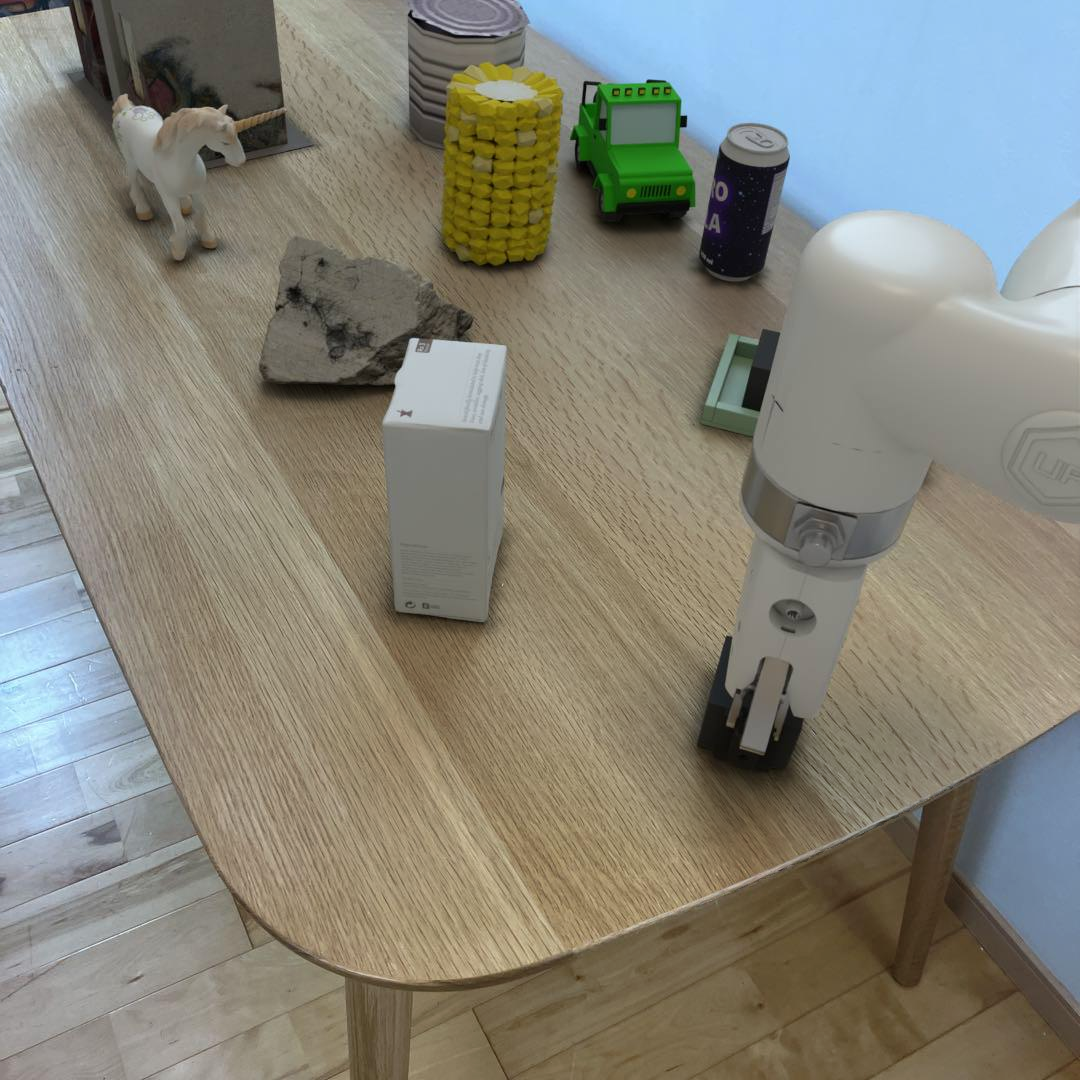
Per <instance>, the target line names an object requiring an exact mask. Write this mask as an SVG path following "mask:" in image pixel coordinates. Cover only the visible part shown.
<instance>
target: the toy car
mask: <svg viewBox="0 0 1080 1080" xmlns="http://www.w3.org/2000/svg"><path fill="white" fill-rule="evenodd" d="M582 83H583V84H582V95H581V102H580V103H579V108H578V109H579V111H578V124H577V125H573V128H572V130H571V133H570V137H569V141H575V142H574V162H575V167H576V169H577V171H579V172H590V173H591V176H592V178H593V180H594V183H593V186H592V188H593V189H594V190H596V189H598V191H597V209H598V215H599V218H600V219H601V221H603V222H619V221H620V220H621V219H622V217H623V215H632V214H633V215H636V214H637V215H639V214H657V213H663V214H664V215H665V216H666V218H668V219H675V218H677V219H678V218H684V217H685V216H686V215H687V212H689V211H690V208H696V181H695V179H694V176H693V175H694V174H693V169H692V168H691V166H690V165H689V163H688V161H687V159H686V158H685V157H684V155H683V153H682V152H681V151H680V149H679V147H680V133H681V129H685V128H687V127H688V115H686V114H684V115H682V98H681V96H680V95H679V94H678V92H677V91H676V90H675V88H674V87H673V86H672V84H671V83H670V82H668V81H667V80H665V79H652V78H651V79H648V78H647V79H646V80H645V82H636V83H634V82H632V83H602V82H601V81H594V80H592V81H591V80H584V81H583V82H582ZM588 86H593V87H596V91H595V92H594V95H593V98H592V102H586V98H587V89H588V88H587V87H588Z"/></svg>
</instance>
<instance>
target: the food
mask: <svg viewBox="0 0 1080 1080" xmlns="http://www.w3.org/2000/svg"><path fill="white" fill-rule="evenodd" d="M446 91H447V99H448V101H447V105H446V109H445V113H446V122H447V123H446V125H445V127H444V129H445V133H446V138H445V139H444V141H443V143H444V146H445V150H443V153H442V159H443V164H442V168H441V172H442V174H443V176H444V177H443V178H442V180H441V183H442V186H443V194H442V198H441V202H442V203H443V205H442V209H441V214H442V215H441V216H440V221H441V224H442V228H441V230H440V234H441V236H442V237H443V240H444V244H445V245H446V247H447V248H448V249H449V250H450V251H451V252H455V253H456V255H457V257H458V259H459V261H461V262H463V263H465V262H470V261H472V262H473V263H475V264H476V265H478V266H483V265H485V264H487V263H489V264H491V265H493V266H495V267H496V266H499V265H502V264H504V263H505V262H506V261H507V260H508V261H509V262H510V263H512V262H521V261H523V260H524V259H525V260H527V261H534V259H536V257H537V256H540V255H543V254H544V253H545V250H546V247H547V243H548V242H549V234H550V233H551V229H552V225H553V224H552V221H551V219H552V216H553V208H552V207H553V205H554V202H555V200H554V198H555V193H556V185H555V184H556V183H557V182H558V181H559V180H558V174H557V172H558V167H559V159H558V156H557V154H558V152H559V150H560V148H561V145H560V139H561V131H562V130H561V129H562V128H561V127H562V123H561V120H562V119H561V117H562V115H563V109H564V106H563V102H562V100H563V98H564V95H565V93H564V91H563V89H562V88H561V87H560V86H559V85H558V80H557V78H555V77H547V75H546V73H545V72H543V71H537V70H535V71H534V72H533V71H532V70H531V69H529V68H528V67H526V66H525V65H524V66H521V67H518V68H515V69H514V70H513V69H512V68H510V67H509V66H507V65H505V64H502V65H499V66H497V67H495V66H494V65H492V64H491V63H489V62H485V63H482V64H479V66H478V67H476V66H473V65H470V66H469V67H468V68H467V69H466V70H465V71H464V72H463V73H461V74H454V75H453V77H452V79H451V81H450V84H449V85H448V86H447V87H446Z"/></svg>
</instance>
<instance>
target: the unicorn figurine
mask: <svg viewBox="0 0 1080 1080" xmlns="http://www.w3.org/2000/svg"><path fill="white" fill-rule="evenodd" d="M227 107H228V105H224V106H222V107H220V108H219V109H218V110H216V109H214V108H212V107H203V108H191V109H190V108H183V109H180V110H179V111H178V112H177V113H171V116H170V117H168V118H166V119H165V120H164V121H163V119H162V117H161V116H160V114H159V113H158V112H156V111H155V110H154V109H152V108H150V107H147V106H135V105H134V104H133V103H132V102H131V101H130V100H129V99H128V94H124V95H121V96H120V97H118V99H117V101H116V102H115V104H114V106H113V107H112V109H113V111H114V113H113V120H114V121H113V125H112V127H113V130H112V132H113V131H114V132H113V134H114V136H115V140H116V144H117V146H118V150H119V151H120V153H121V155H122V157H123V158H124V159H125V164H126V165H125V168H126V174H127V177H128V178H129V182H130V185H131V187H130V191H129V197H130V199H131V201H132V203H133V205H134V206H135V212H136V217H137V219H138V220H140V221H150V220H151V219H153V218H154V213H153V212H152V210H151V207H150V205H149V204H148V203H147V202H146V200H145V196H144V193H143V191H142V189H141V187H140V183H139V172H141V174H142V175H143V176H144V177H145V178H146V179H147V180H148V181H150V182H151V183H153V184H154V187H155V189H156V191H157V192H158V194H159V195H160V197H161V201H162V204H163V206H164V207H165V209H166V211H167V213H168V214H169V217H170V219H171V222H172V226H173V229H174V232H173V233H172V234H171V236H170V237H169V238H168V242H169V243H170V248H169V254H170V257H171V259H172V260H174V261H182V260H183V259H184V258H185V256H186V251H187V249H188V246H187V245H188V244H187V224H186V222H185V220H184V217H183V215H189V214H191V212H192V210H194V213H193V214H192V215H191V221H192V222H193V226H194V228H195V231H196V233H197V235H198V236H199V237H200V240H201V245H202V246H203V247H204V248H207V249H215V248H217V246H218V245H219V242H218V240H217V238H216V236H215V234H214V233H213V232H212V231H211V230H210V228H209V224H208V222H207V219H206V217H205V215H206V214H205V209H206V202H205V200H204V196H205V191H206V182H207V176H208V175H207V169H205V166H204V163H203V161H202V159H201V158H200V156H199V154H198V152H199V150H200V149H201V148H202V147H203V146H204V145H205V144H206V145H207V147H208V148H210V149H211V150H213V151H216V152H221V153H222V154H223V155H224V156H225V161H226V163H228V164H227V165H230V166H232V167H236V168H240V167H242V165H243V164H245V163H246V161H247V160H246V157H245V154H244V152H243V148H242V146H241V143H240V141H239V139H238V137H237V132H241V131H242V130H246V129H248V128H250V127H253V126H255V125H256V124H260V123H262V122H264V121H267V120H269V119H271V118H274V117H276V116H279V115H280V114H283V113H285V114H286V113H287V112H288V109H287V108H286V107H284V108H281V109H278V110H274V111H270V112H268V113H263V114H261V115H256V116H255V117H250V118H248V119H243V120H240V121H235V122H234V121H233V120H232V118H231V117H228V116H227V115H225V113H226V109H227ZM189 195H191V198H190V197H189Z"/></svg>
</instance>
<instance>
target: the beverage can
mask: <svg viewBox="0 0 1080 1080" xmlns="http://www.w3.org/2000/svg"><path fill="white" fill-rule="evenodd" d="M788 145H789V137H788V136H787V134H785V133H784V132H783V131H781V130H780V129H779V128H776V127H774V126H771V125H769V124H764V123H758V122H742V123H737V124H734V125H732V126H731V127H730V128H728V130H727V131H726V136H725V138H723V140H722V141H721V142H720V144H719V146H718V152H717V156H716V163H715V167H714V172H713V178H712V183H711V189H710V195H709V198H708V204H707V210H706V216H705V221H704V226H703V232H702V236H701V242H700V248H699V252H698V258H699V261H700V262H701V263H702V265H703V266H704V267H705V268H706V270H707V272H708V273H709V274H710V275H712V276H713V277H715V278H717V279H719V280H722V281H726V282H735V283H736V282H743V281H746V280H749V279H750V278H752V277H753V276H755V275H757V274H758V273H761V271H763V269H764V267H765V264H766V259H767V255H768V252H769V247H770V243H771V239H772V235H773V231H774V227H775V222H776V218H777V214H778V209H779V205H780V201H781V197H782V193H783V190H784V189H783V188H784V183H785V180H786V175H787V171H788V168H789V165H790V164H789V163H790V159H791V155H790V151H789V148H788Z"/></svg>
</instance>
